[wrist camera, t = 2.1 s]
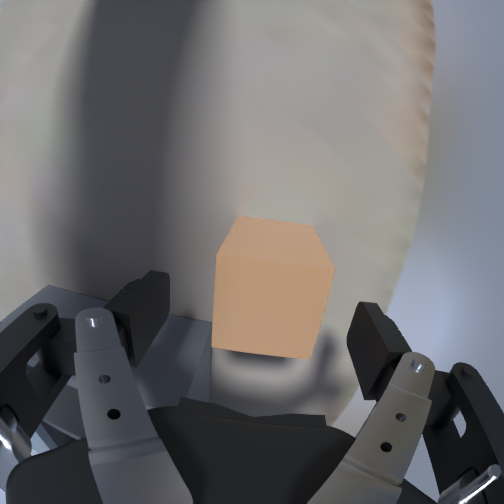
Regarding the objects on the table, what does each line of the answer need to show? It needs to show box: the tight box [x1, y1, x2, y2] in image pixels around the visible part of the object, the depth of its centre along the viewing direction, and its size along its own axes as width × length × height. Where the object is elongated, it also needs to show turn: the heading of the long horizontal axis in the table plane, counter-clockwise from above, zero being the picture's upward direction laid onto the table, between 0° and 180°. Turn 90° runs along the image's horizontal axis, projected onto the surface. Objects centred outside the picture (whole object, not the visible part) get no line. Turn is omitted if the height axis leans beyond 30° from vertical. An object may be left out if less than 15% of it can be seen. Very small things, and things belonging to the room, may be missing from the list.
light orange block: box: [211, 216, 335, 359], centre depth 13 cm, size 4×4×6 cm
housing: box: [0, 285, 212, 447], centre depth 17 cm, size 16×14×8 cm
